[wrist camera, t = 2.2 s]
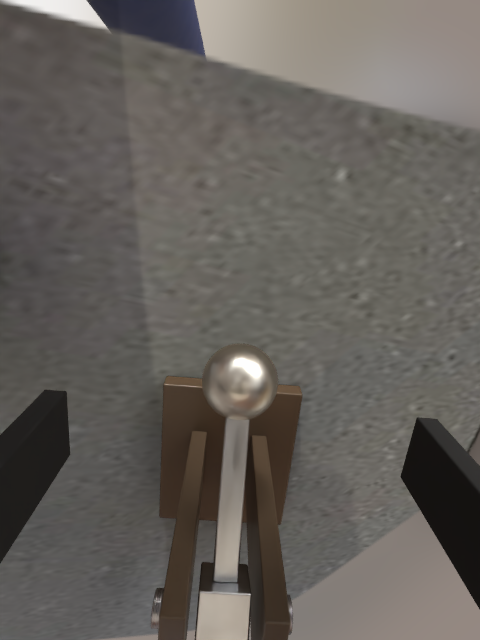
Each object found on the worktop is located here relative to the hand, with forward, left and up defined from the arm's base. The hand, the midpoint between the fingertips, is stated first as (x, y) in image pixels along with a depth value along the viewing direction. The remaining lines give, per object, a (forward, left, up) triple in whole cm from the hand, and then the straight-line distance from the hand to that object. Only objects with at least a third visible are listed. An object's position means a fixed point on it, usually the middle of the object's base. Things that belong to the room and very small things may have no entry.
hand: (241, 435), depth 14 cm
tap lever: (+5, 0, -3) cm, 6 cm away
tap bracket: (+9, 0, -11) cm, 14 cm away
